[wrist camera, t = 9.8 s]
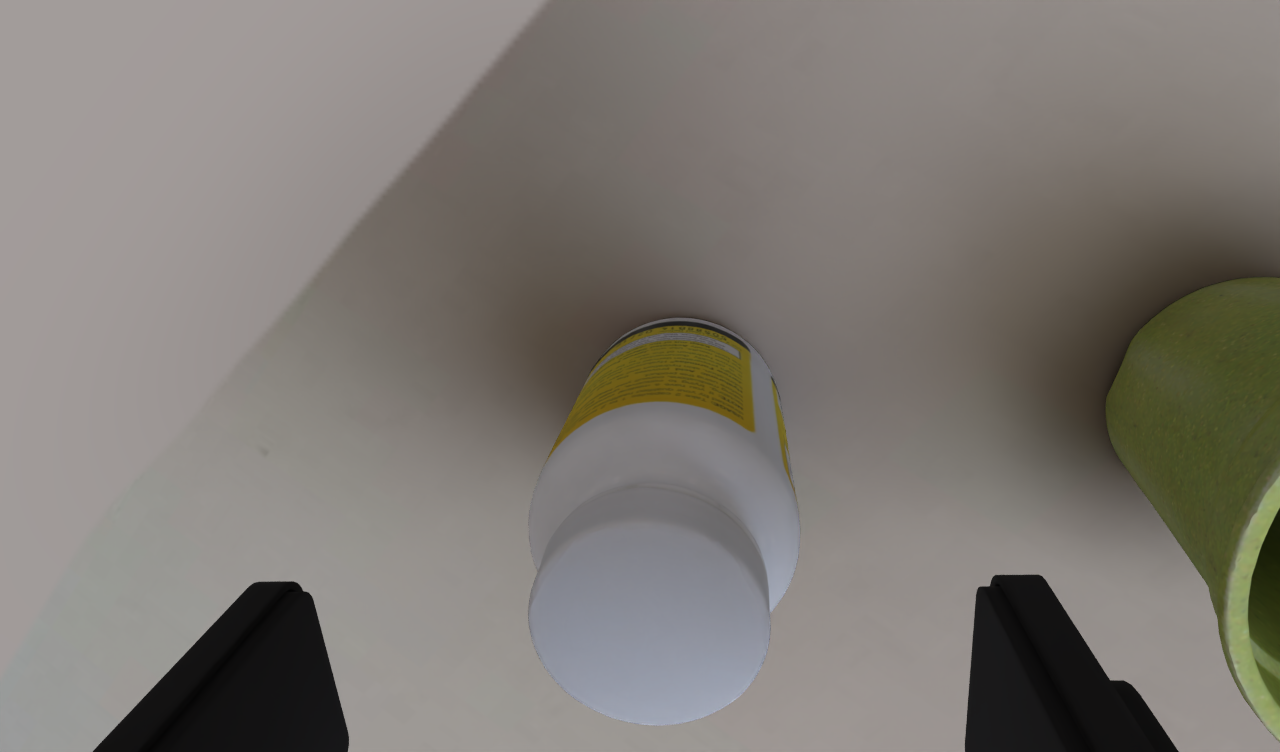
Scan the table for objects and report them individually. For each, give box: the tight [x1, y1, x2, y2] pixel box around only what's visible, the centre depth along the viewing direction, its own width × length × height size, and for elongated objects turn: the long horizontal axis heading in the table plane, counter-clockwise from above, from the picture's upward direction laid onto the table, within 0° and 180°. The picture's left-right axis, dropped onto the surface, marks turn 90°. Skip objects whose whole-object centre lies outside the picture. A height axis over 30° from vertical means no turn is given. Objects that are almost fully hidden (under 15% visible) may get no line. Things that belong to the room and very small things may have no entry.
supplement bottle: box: [528, 318, 800, 726], centre depth 17 cm, size 5×5×10 cm
